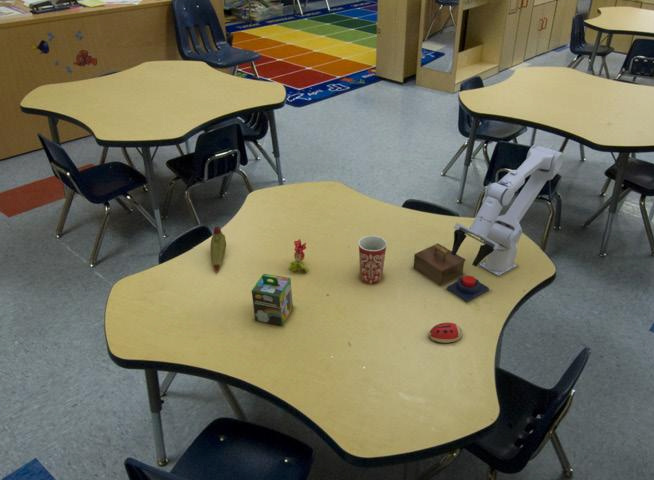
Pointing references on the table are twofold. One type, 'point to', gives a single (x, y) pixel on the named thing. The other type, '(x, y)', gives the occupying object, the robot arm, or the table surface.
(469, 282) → the buzzer button
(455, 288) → the button block
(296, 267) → the bird rattle
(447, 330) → the watermelon slice
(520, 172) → the robot arm
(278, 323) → the chalk box
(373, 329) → the table surface
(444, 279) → the brown box
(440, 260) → the box lid
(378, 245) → the mug
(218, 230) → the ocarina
